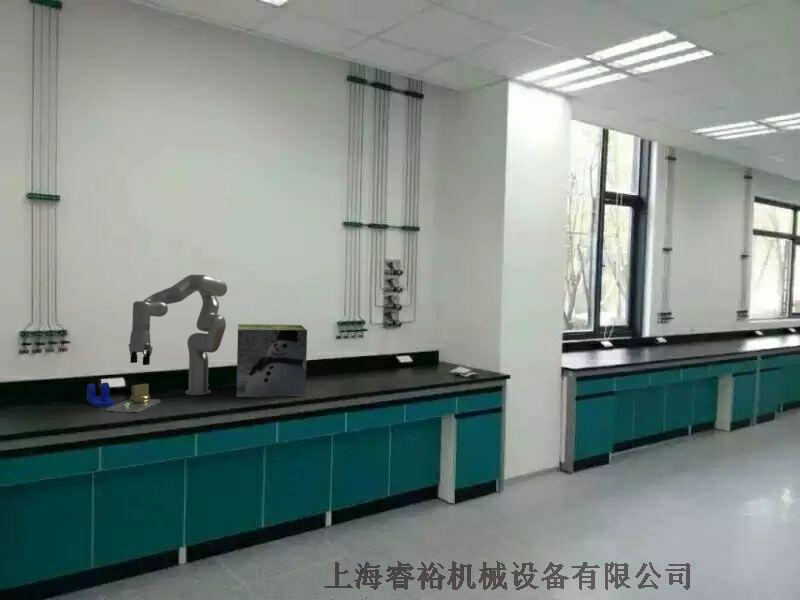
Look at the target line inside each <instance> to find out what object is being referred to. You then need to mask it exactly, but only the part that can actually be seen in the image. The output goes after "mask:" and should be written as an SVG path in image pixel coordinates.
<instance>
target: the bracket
mask: <svg viewBox="0 0 800 600" xmlns="http://www.w3.org/2000/svg"><path fill="white" fill-rule="evenodd" d="M110 389H111V388H110V384H109V382H102V383H101V385H100V395H99V396H98V395H96V385H95V383H88V384H87V386H86V401H87V400H88V401H89V402H90V403H92V404H93V405H94V406H93V405H92V404H91V405H92V406H93V407H95V406H97V407H96V408H109V407H108V406H110V407H111V406H114V405H115V400H114V399H112V398H111V395H110V393H111V391H110ZM89 402H88V403H89ZM90 403H89V404H90Z"/></svg>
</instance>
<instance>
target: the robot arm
mask: <svg viewBox="0 0 800 600" xmlns="http://www.w3.org/2000/svg"><path fill="white" fill-rule="evenodd" d="M227 291H228V286H227V284H226V282H225V281H223V280H222V279H221V280H220V279H217V278H215V277H213V276H209V275H205V274H190V275H187V276H185V277H183V279H181V280H180V281H178V282H177V283H175V284H174V285H172V286H170V287H168V288H165V289H163V290H160V291H157V292H155V293H153V294H151V295H149V296H147V298H145V299H143V300H142V301H140V300H139V301H138V300H137V301H134V302H133V304H132V327H131V328H132V329H131V331H130V332H131V333H130V337H129V338H130V339H129V344H128V348H129V349H128V350H129V354H130V363H131V364H135V363H138V353H142V355H143V356H142V366H149V365H150V363H151V361H150V360H151V356H152V353H153V346H152V345H151V332H150V331H151V330H150V329H151V317H156V318H159V317H164V316H165V315H166V314H168V311H169V307H168V305H169V304H175V303H180V302H182V301H184V300H185V299H186V298H188V297H189V296H191V295H192V294H194V293H195V292H198V293H199V294H200V297H201V300H202V306H201V309H200V312H199V315H198V318H197V321H196V328H197V330H199V331H201V332H195V333H192V334H191V335H189V337H187V338H188V339H187V341H186V342H187V343H186V344H187V349H188V358H189V360H188V362H189V363H188V390H186V391H185V395H188V396H204V395H205V394H206V395H210V394H211V393H212V391H211V389H208V388H209V386H210V384H209V356H208V354H209V353H210V354H211V353H215V352H217V351H218V349H219V348H220V346H221V343H222V340H223V337H224V334H225V331H226V328H227V327H226V326H227V325H226V324H227V323H226V322H227V321H226V319H225V317H224V316H222V315H220V314H218V312H219V309H220V302H219V300H218V297H220V298H221V297H223V296H225V295H226V294H227ZM202 332H203V333H202ZM204 332H206V333H204ZM206 395H205V396H206Z"/></svg>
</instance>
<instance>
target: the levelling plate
mask: <svg viewBox="0 0 800 600" xmlns="http://www.w3.org/2000/svg"><path fill="white" fill-rule="evenodd" d="M128 400H130V399H128ZM157 403H159V404H160V403H161V399H154V398H152V399H151V398H150V401H148V402H142V403H133V402H132V401H130V402H127V400H124V401H122V402H119V403H117V404H114V405H113V406H110V407H106V412H109V411H114V413H132V412H138V413H140V412H143V411H144V409H145V410H146V408H147V409H149V408H151V407H150V406H152V407H153V405H154V406H156V405H158V404H157ZM155 404H156V405H155ZM148 407H149V408H148ZM142 410H143V411H142ZM139 411H140V412H139Z"/></svg>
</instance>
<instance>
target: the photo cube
mask: <svg viewBox="0 0 800 600" xmlns="http://www.w3.org/2000/svg"><path fill="white" fill-rule="evenodd" d="M307 344H308V330H307V329H306V328H305V327H304V326H302V324H261V323H260V324H259V323H258V324H256V323H254V324H251V323H249V324H247V323H246V324H245V323H241V324H240V323H238V324H237V348H236V349H237V352H236V353H237V355H236V358H237V359H236V361H237V362H236V397H251V396H252V398H254V397H253V396H290V395H291V396H292V395H305V396H306V393H307V392H306V391H307V389H306V387H307V385H306V384H307V351H308V349H307V348H308V347H307V346H308V345H307Z"/></svg>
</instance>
